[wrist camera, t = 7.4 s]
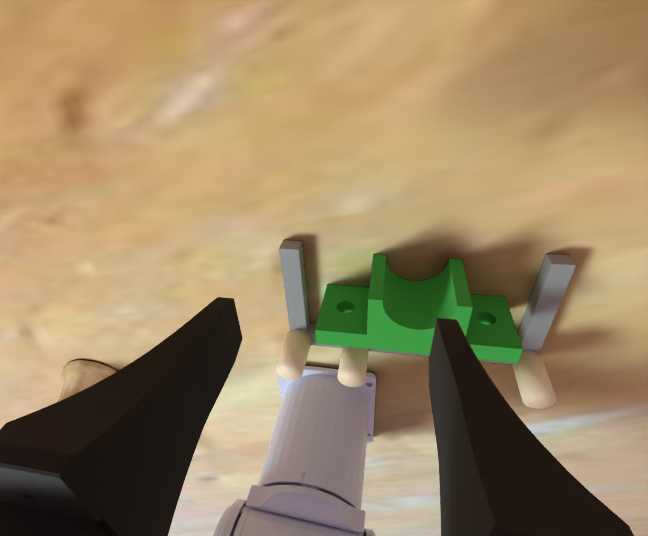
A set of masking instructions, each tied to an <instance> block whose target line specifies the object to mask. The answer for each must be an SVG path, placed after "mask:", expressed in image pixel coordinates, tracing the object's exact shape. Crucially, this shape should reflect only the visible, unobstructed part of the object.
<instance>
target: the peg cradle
mask: <svg viewBox="0 0 648 536" xmlns="http://www.w3.org/2000/svg"><path fill="white" fill-rule="evenodd" d="M279 251H280V259H281V266H282V273H283V280H284V288H285V295H286V302H287V310H288V317H289V324H290V331H289V332H288V334H287V337H286V340H285V343H284V346H283V349H282V352H281V354H280V357H279V360H278V363H277V366H276V372H277V373H278V375H279V376H281V377H282V378H284V379H287V380H298V379H300V378H301V377H302V374H303V371H304V367H305V363H306V360H307V356H308V352H309V349H310V345H316V346H326V347H336V348H342V353H341V358H340V364H339V370H338V375H337V378H338V380H339V382H340V383H342V384H343V385H345V386H348V387H360V386H362V385H363V384H364V383H365V380H366V370H367V360H368V351H376V352H386V353H396V354H406V355H416V356H426V357H429V356H430V355H426V354H416V353H406V352H396V351H386V350H376V349H366V348H356V347H346V346H336V345H325V344H316V336H315V328H316V325H317V324H314V323H310V320H309V310H308V299H307V288H306V278H305V267H304V256H303V246H302V241H291V240H283V242H282V244H281V246H280V248H279ZM575 267H576V264H575V263H574V261H573V260H572V258H571V256H570V255H560V254H546V256H545V258H544V261H543V264H542V267H541V270H540V272H539V275H538V278H537V281H536V284H535V286H534V289H533V292H532V295H531V298H530V301H529V303H528V306H527V309H526V312H525V315H524V317H523V320H522V323H521V326H520V329H519V331H518V336H519V339H520V342H521V345H522V348H523V351H522V354H521V356H520V359H519V361H518V364H517V363H507V362H497V361H487V360H479V361H480V362H487V363H497V364H507V365H512V367H513V370H514V374H515V377H516V381H517V384H518V387H519V391H520V394H521V398H522V401H523V403H524V404H525V405H526V406H527V407H530V408H534V409H543V408H547V407H550V406H552V405H553V404H554V403H555V402H556V399H557V398H556V395H555V392H554V390H553V387H552V384H551V382H550V379H549V377H548V374H547V371H546V369H545V366H544V363H543V361H542V358H541V356H540V355H539V353H540V350H541V348H542V346H543V343H544V341H545V338H546V336H547V334H548V331H549V329H550V327H551V324H552V322H553V319H554V317H555V315H556V312H557V310H558V307H559V305H560V303H561V300H562V298H563V296H564V293H565V291H566V288H567V286H568V284H569V281H570V279H571V277H572V274H573V272H574V269H575Z"/></svg>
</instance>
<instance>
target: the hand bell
mask: <svg viewBox="0 0 648 536" xmlns="http://www.w3.org/2000/svg"><path fill="white" fill-rule="evenodd" d="M116 372H117V371H116V370H114V369H112V368H110V367H108V366H105V365H103V364H100V363H97V362H92V361H85V360H76V361H71V362H69V363H67V364H66V365H65V366H64V367H63V370H62V374H61V379H62V383H63V385H62V392H61V395H60V397H59V400H58V402H59V401H61V400H63V399H66V398H68V397H70V396H72V395H74V394H76V393H78V392H80V391H82V390H84V389H86V388H88V387H90V386H92V385H94V384H96V383H97V382H99V381H101V380H103V379H105V378H107V377H108V376H110V375H112V374H114V373H116Z"/></svg>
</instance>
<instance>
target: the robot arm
mask: <svg viewBox="0 0 648 536" xmlns="http://www.w3.org/2000/svg"><path fill="white" fill-rule="evenodd" d="M241 341H242V334H241V330H240V325H239V321H238V316H237V311H236V307H235V302H234V299H232V298H222V297H218V298H216V299H215V300H214V301H213V302H211V303H210V304H209V305H208V306H206V307H205V308H204V309H203V310H202V311H200V312H199V313H198V314H197V315H196V316H194V317H193V318H192V319H191V320H189V321H188V322H187V323H186V324H184V325H183V326H182V327H181V328H180V329H178V330H177V331H176V332H175V333H173V334H172V335H171V336H169V337H168V338H166V339H165V340H164V341H162V342H161V343H160V344H158V345H157V346H156V347H154V348H153V349H152V350H150V351H149V352H147V353H146V354H144V355H143V356H141V357H140V358H138V359H137V360H135V361H134V362H132V363H130V364H129V365H127V366H126V367H124V368H122V369H121V370H119V371H117V372H116V373H114V374H112V375H110V376H108V377H107V378H105V379H103V380H101V381H99V382H97V383H96V384H94V385H92V386H90V387H88V388H86V389H84V390H82V391H80V392H78V393H76V394H74V395H72V396H70V397H68V398H66V399H63V400H61V401H59V402H57V403H55V404H52V405H50V406H48V407H45V408H43V409H40V410H38V411H36V412H33V413H31V414H28V415H26V416H23V417H21V418H18V419H16V420H13V421H10V422H8V423H6V424H5V425H4V426H3V427H2V428H1V429H0V536H168V533H169V529H170V526H171V522H172V519H173V515H174V512H175V509H176V505H177V502H178V499H179V496H180V493H181V490H182V486H183V483H184V480H185V477H186V474H187V471H188V469H189V466H190V463H191V460H192V457H193V454H194V451H195V449H196V446H197V443H198V441H199V438H200V435H201V432H202V430H203V427H204V425H205V423H206V421H207V418H208V416H209V414H210V412H211V410H212V408H213V406H214V404H215V402H216V400H217V398H218V396H219V394H220V392H221V390H222V388H223V386H224V383H225V381H226V379H227V377H228V375H229V373H230V371H231V369H232V367H233V365H234V362H235V359H236V357H237V354H238V351H239V348H240V344H241ZM338 370H339V369H331V368H322V367H313V366H305V367H304V371H303V374H302V377H301V378H300V379H298V380H287V379H284V378H282V377H281V376H279V375H278V373H277V376H278V381H279V387H280V392H281V398H282V405H281V409H280V412H279V415H278V419H277V422H276V425H275V428H274V432H273V435H272V438H271V442H270V445H269V448H268V452H267V455H266V458H265V462H264V465H263V468H262V471H261V475H260V478H259V481H258V485H257V486H256V485H252V486H251V489H250V492H249V495H248V499H247V501H246V500H242V499H238V500H236V501H235V502H234V503H233V504H232V505H231V506H230V507H228V508H227V509H226V510H225V512H224V513H223V515H222V517H221V519H220V521H219V523H218V525H217V527H216V530H215V532H214V535H213V536H376V535H375V533H374V531H373V530H369V529H364V523H365V511H363V510H361V502H362V491H363V479H364V467H365V456H366V444H367V443H372V442H373V428H374V410H375V391H376V376H375V375H374V374H373V373H368V372H366V380H365V383H364V384H363V385H362V386H360V387H348V386H345V385H343V384H342V383H340V382H339V380H338V378H337V375H338ZM429 389H430V397H431V404H432V412H433V419H434V427H435V434H436V441H437V449H438V459H439V476H440V504H441V536H634V535H633V533H632V531H631V529H630V527H629V526H628V525H627V524H626V523H625V522H624V521H623V520H622V519H620V518H619V517H618V516H617V515H616V514H615V513H613V512H612V511H611V510H610V509H609V508H608V507H607V506H605V505H604V504H603V503H602V502H601V501H600V500H598V499H597V498H596V497H595V496H594V495H593V494H592V493H590V492H589V491H588V490H587V489H586V488H585V487H584V486H583V485H582V484H581V483H580V482H579V481H578V480H577V479H575V478H574V477H573V476H572V475H571V474H570V473H569V472H568V471H567V470H566V469H565V468H564V467H563V466H562V465H561V464H560V463H559V461H558V460H557V459H556V458H555V457H554V456H553V455H552V454H551V453H550V452H549V451H548V450H547V449H546V448H545V447H544V446H543V445H542V444H541V443H540V442H539V440H538V439H537V438H536V437H535V436H534V435H533V434H532V432H531V431H530V430H529V429H528V428H527V427H526V425H525V424H524V423H523V422H522V421H521V419H520V418H519V417H518V416H517V414H516V413H515V412H514V411H513V409H512V408H511V407H510V406H509V404H508V403H507V402H506V400H505V399H504V397H503V396H502V395H501V393H500V392H499V390H498V389H497V388H496V386H495V385H494V383H493V382H492V380H491V379H490V377H489V376H488V374H487V373H486V371H485V369H484V368H483V366H482V365H481V363H480V361H479V360H478V358H477V356H476V355H475V353H474V351H473V349H472V348H471V346H470V344H469V342H468V340H467V338H466V337H465V335H464V333H463V331H462V329H461V326H460V324H459V322H458V321H457V320H456V319H445V318H437V320H436V325H435V330H434V335H433V341H432V346H431V351H430V356H429Z"/></svg>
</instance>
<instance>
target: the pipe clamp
mask: <svg viewBox="0 0 648 536" xmlns="http://www.w3.org/2000/svg"><path fill="white" fill-rule="evenodd" d="M437 318H445V319H456V320H457V321H458V322H459V324H460V326H461V329H462V331H463V333H464V335H465V337H466V338H467V340H468V342H469V344H470V346H471V348H472V349H473V351H474V353H475V355H476V356H477V358H478V360H487V361H497V362H507V363H517V364H518V361H519V359H520V356H521V354H522V351H523V348H522V345H521V342H520V339H519V336H518V333H517V330H516V327H515V324H514V321H513V318H512V315H511V312H510V309H509V306H508V303H507V300H506V297H500V296H486V295H472V294H470V293H469V288H468V284H467V279H466V275H465V270H464V266H463V261H462V259H450V258H449V261H448V263H447V265H446V267H445V268H444V270H443V271H442V272H441V273H440V274H438V275H437V276H435V277H433V278H431V279H428V280H424V281H409V280H406V279H403V278H400V277H399V276H397V275H396V274H394V273H393V272H392V271H391V270H390V268H389V267H388V264H387V262H386V255H380V254H373V262H372V270H371V279H370V287H360V286H346V285H333V284H327V288H326V291H325V295H324V299H323V302H322V306H321V310H320V314H319V317H318V321H317V325H316V328H315V336H316V344H325V345H336V346H346V347H356V348H366V349H376V350H386V351H396V352H406V353H416V354H426V355H430V351H431V346H432V341H433V335H434V330H435V325H436V320H437Z"/></svg>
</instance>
